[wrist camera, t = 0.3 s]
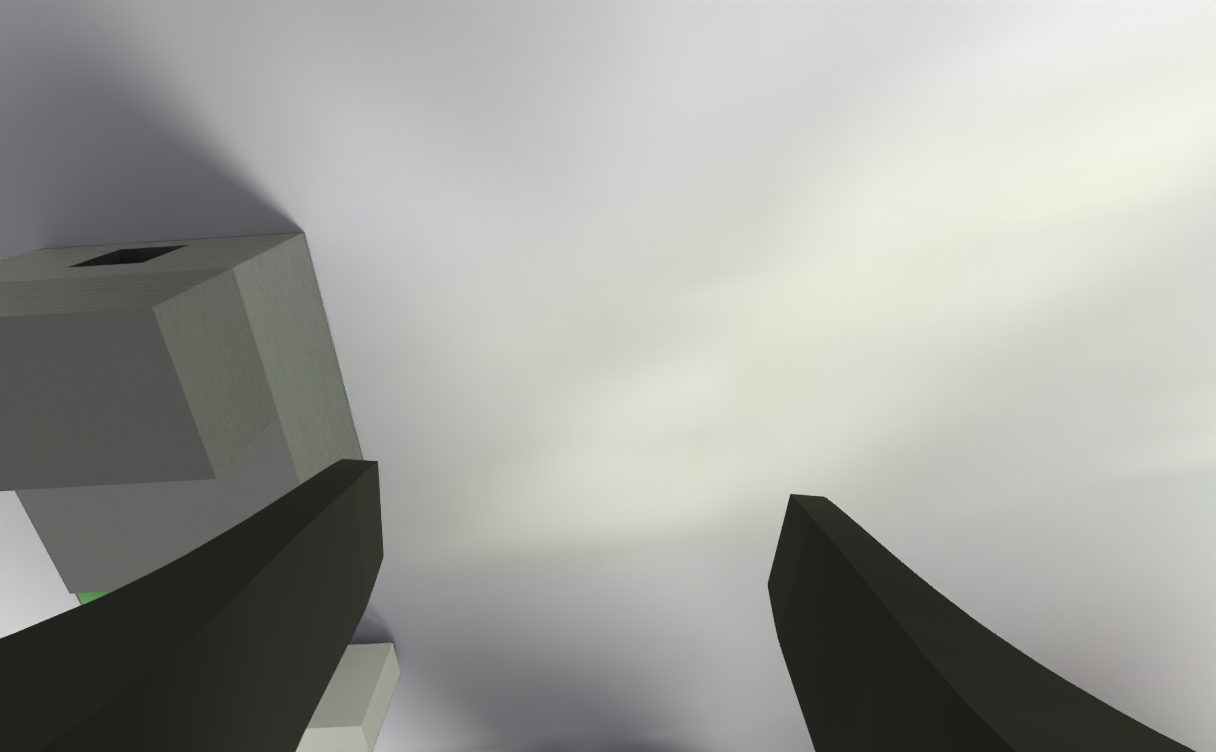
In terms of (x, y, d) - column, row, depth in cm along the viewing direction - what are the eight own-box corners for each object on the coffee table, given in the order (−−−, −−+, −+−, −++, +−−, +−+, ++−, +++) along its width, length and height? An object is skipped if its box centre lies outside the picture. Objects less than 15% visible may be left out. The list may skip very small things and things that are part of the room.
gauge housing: (373, 501, 23) (284, 661, 17) (153, 513, 23) (-18, 676, 17) (303, 232, 19) (152, 307, 13) (39, 249, 19) (-242, 332, 13)
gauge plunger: (400, 671, 26) (370, 757, 23) (118, 685, 26) (49, 771, 23) (338, 444, 22) (290, 509, 18) (0, 464, 22) (-107, 531, 19)
